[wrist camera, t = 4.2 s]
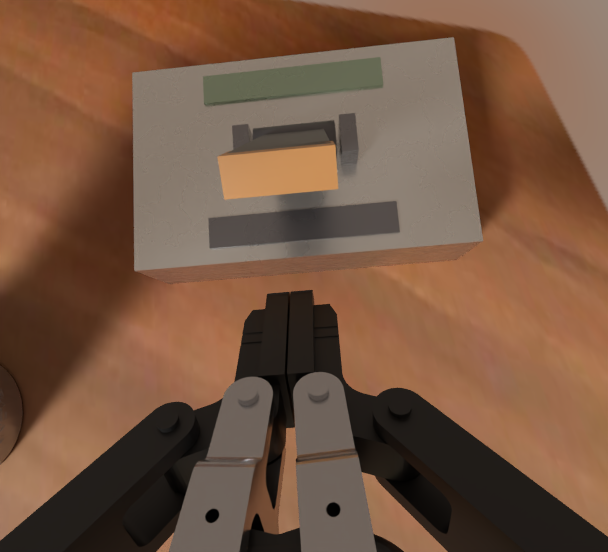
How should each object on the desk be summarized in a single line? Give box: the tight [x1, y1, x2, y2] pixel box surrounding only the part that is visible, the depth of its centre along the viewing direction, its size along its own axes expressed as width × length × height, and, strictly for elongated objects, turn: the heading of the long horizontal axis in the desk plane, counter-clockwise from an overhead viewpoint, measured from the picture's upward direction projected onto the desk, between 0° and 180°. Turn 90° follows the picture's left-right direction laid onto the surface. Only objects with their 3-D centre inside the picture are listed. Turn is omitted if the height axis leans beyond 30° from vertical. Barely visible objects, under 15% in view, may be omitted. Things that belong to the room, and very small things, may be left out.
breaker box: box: [132, 37, 483, 284], centre depth 30 cm, size 22×14×8 cm, turn 94°
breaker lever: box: [217, 120, 338, 200], centre depth 21 cm, size 5×2×15 cm, turn 94°
